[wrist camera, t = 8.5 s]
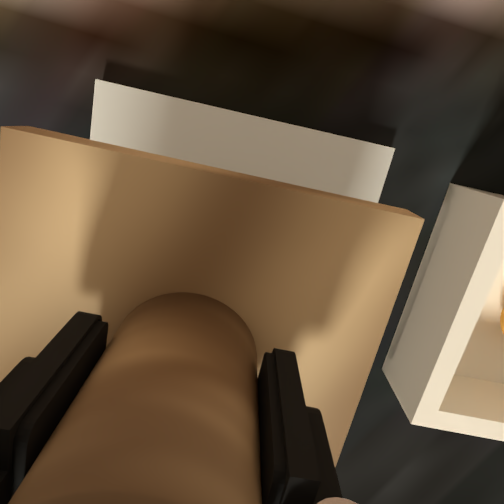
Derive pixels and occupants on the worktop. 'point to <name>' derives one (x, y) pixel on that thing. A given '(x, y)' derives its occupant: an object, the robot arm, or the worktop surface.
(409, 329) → the dish
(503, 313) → the clementine
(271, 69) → the worktop surface
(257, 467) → the lid
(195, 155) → the box
